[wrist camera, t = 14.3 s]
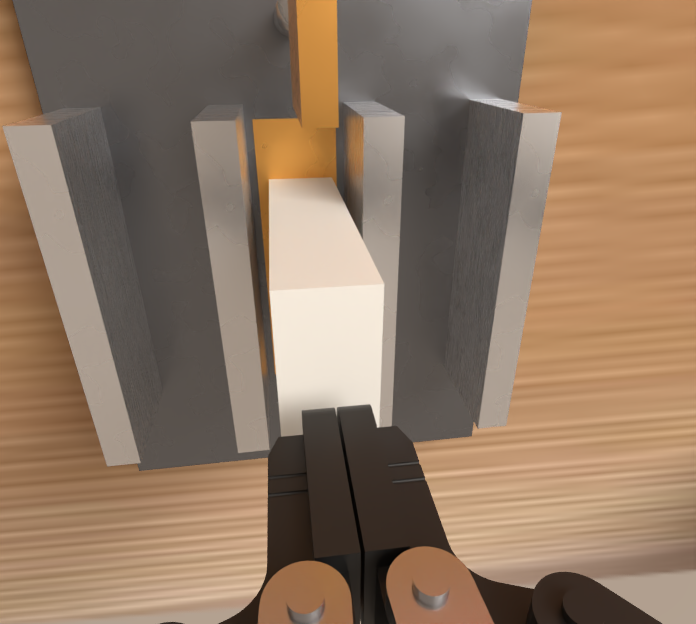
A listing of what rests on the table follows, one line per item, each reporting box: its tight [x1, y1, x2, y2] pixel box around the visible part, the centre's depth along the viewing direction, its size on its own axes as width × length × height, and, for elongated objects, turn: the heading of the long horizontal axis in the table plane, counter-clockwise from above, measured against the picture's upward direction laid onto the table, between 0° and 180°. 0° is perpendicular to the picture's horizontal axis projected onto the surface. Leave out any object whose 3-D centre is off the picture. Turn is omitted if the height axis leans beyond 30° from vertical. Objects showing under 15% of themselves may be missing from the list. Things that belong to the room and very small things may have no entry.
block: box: [269, 177, 384, 437], centre depth 16 cm, size 2×7×10 cm, turn 0°
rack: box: [2, 0, 562, 471], centre depth 17 cm, size 17×21×12 cm
